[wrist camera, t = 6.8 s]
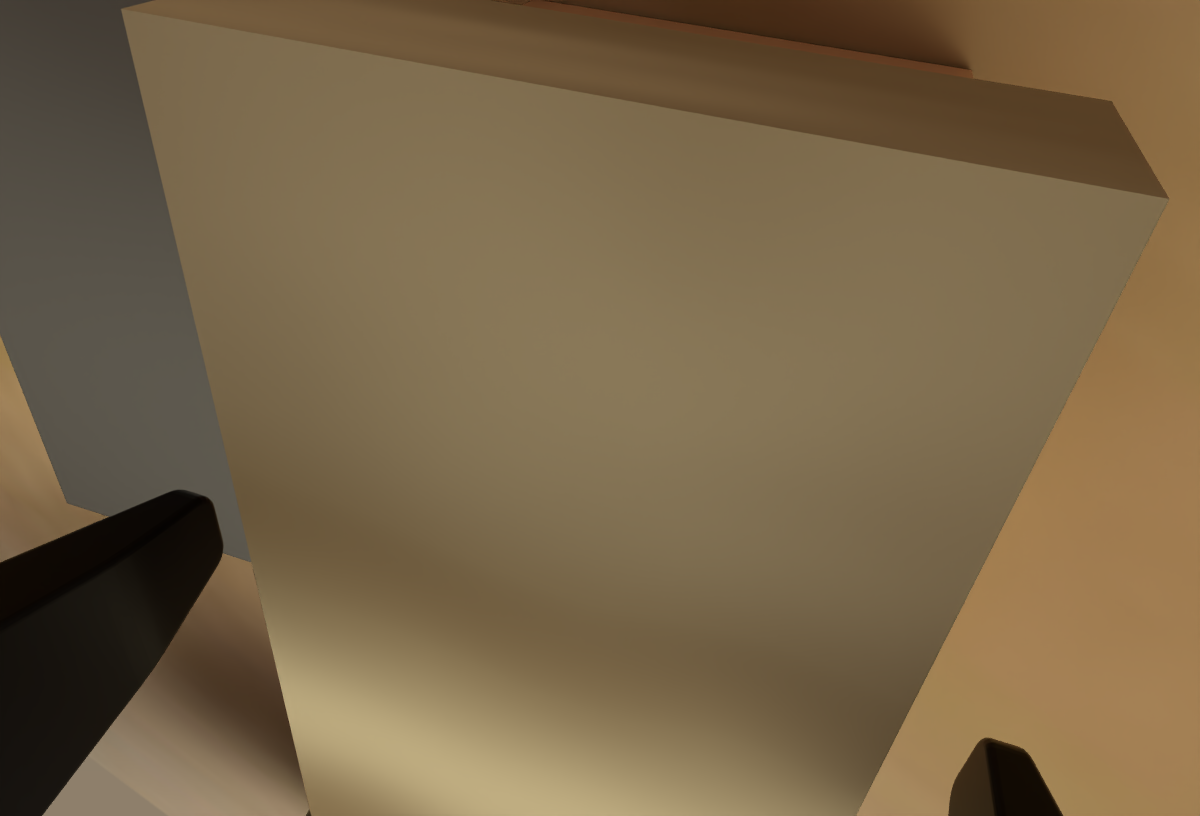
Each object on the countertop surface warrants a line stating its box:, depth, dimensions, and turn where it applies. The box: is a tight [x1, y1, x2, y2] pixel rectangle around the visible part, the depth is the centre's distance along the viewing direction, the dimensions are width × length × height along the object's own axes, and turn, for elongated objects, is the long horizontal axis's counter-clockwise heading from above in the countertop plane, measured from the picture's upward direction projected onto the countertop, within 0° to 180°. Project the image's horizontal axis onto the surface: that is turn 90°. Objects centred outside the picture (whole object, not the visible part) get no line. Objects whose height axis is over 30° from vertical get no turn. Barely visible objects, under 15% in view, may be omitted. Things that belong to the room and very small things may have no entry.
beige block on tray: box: [121, 0, 1169, 816], centre depth 10 cm, size 12×7×2 cm, turn 176°
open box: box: [523, 0, 973, 79], centre depth 13 cm, size 10×6×5 cm, turn 176°
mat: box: [0, 0, 251, 562], centre depth 18 cm, size 14×9×1 cm, turn 176°
